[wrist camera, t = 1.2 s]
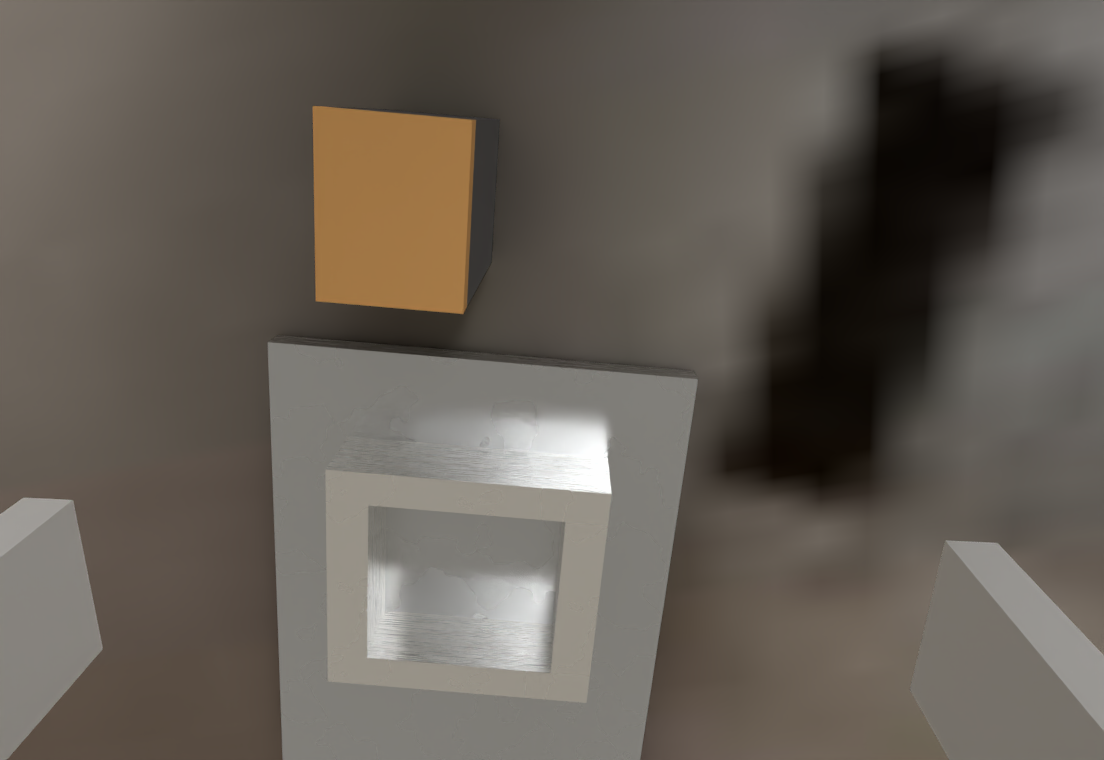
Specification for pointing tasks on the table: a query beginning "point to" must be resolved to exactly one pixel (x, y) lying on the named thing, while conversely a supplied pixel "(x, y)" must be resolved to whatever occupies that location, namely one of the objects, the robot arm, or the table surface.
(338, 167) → the plug
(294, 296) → the table surface
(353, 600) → the socket plate
